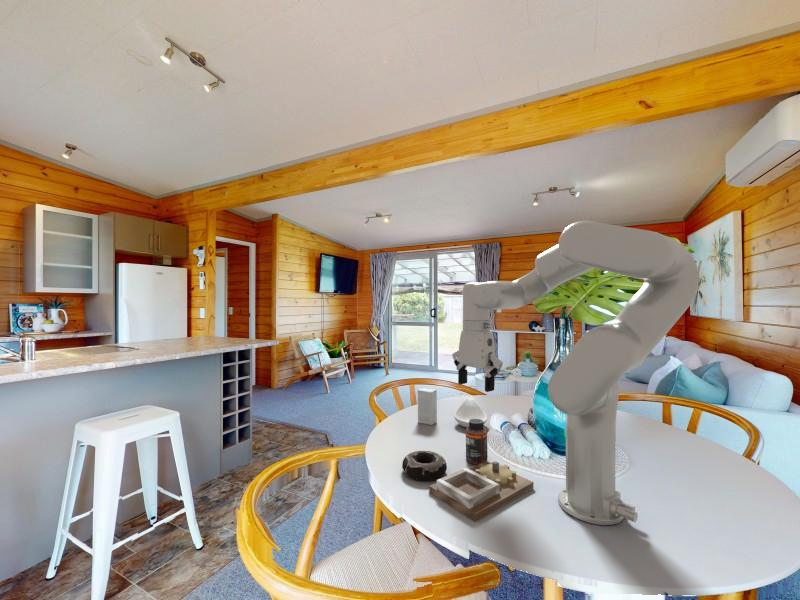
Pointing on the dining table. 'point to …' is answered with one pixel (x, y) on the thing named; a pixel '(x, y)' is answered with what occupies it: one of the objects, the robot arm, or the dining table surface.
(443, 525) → the dining table surface
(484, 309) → the robot arm
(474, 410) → the spoon rest
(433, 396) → the skincare box
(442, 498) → the gear board
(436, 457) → the donut
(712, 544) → the dining table surface
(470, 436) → the supplement bottle
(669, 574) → the dining table surface
